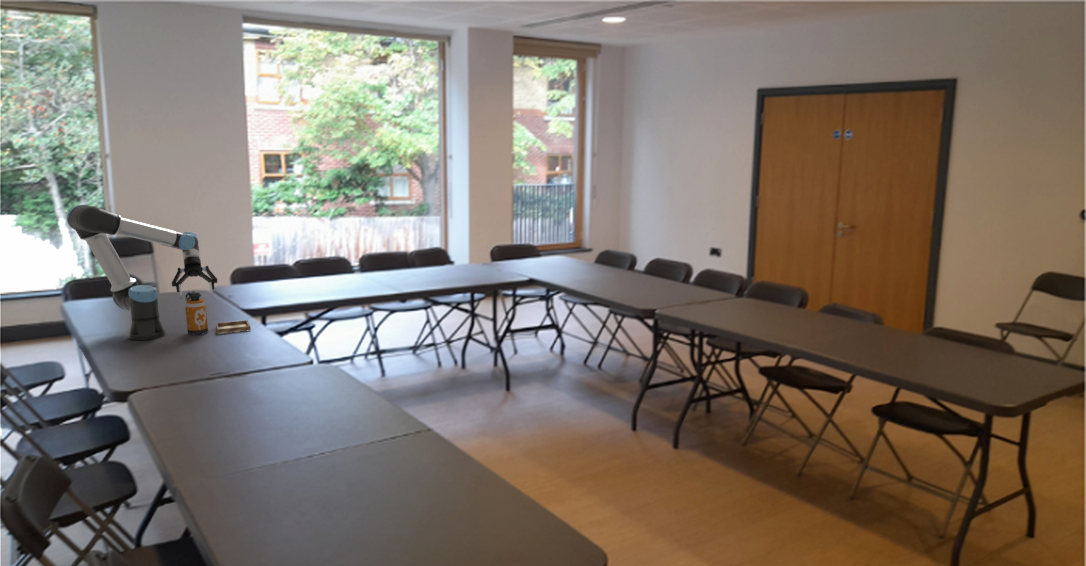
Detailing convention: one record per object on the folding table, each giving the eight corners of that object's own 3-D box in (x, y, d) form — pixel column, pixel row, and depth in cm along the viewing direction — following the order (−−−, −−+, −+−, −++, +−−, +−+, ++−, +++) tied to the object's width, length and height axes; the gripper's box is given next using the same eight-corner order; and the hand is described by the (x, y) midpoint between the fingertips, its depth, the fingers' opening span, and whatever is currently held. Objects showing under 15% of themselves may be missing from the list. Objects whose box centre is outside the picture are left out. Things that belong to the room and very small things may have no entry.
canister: (194, 336, 356) (190, 294, 353) (181, 332, 363) (177, 291, 359) (212, 332, 364) (208, 291, 360) (199, 329, 370) (196, 288, 366)
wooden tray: (217, 334, 360) (217, 329, 360) (215, 327, 372) (215, 323, 372) (250, 330, 367) (250, 326, 366) (247, 324, 378) (247, 320, 378)
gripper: (219, 262, 385) (224, 297, 375) (164, 266, 373) (168, 302, 364) (219, 253, 379) (224, 289, 369) (163, 257, 368) (167, 294, 358)
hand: (196, 295), depth 366 cm, fingers open, 13 cm apart
